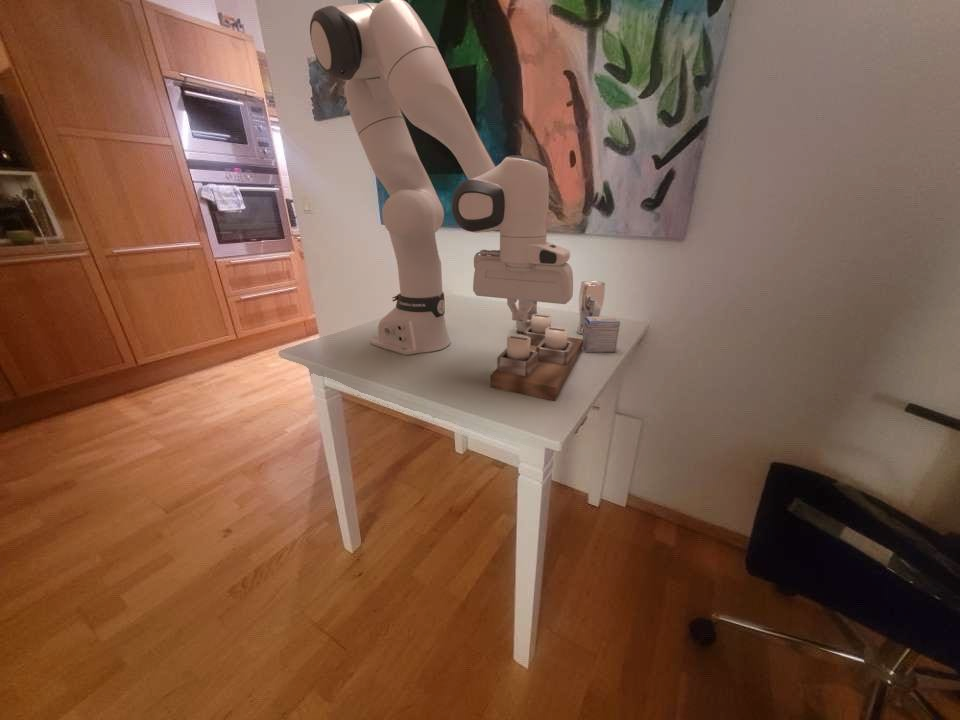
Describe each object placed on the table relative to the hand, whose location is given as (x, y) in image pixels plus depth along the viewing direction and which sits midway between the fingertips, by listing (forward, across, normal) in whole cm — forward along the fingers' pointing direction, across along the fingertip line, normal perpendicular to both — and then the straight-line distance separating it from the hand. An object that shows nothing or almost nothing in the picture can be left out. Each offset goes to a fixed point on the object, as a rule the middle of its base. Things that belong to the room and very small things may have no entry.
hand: (520, 320), depth 76 cm
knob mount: (+14, +3, +9) cm, 17 cm away
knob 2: (+8, 0, +18) cm, 20 cm away
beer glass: (+14, +9, +39) cm, 42 cm away
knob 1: (+8, 0, 0) cm, 8 cm away
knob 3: (+8, +6, +9) cm, 13 cm away
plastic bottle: (+14, -8, +32) cm, 36 cm away
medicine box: (+14, +14, +26) cm, 33 cm away
